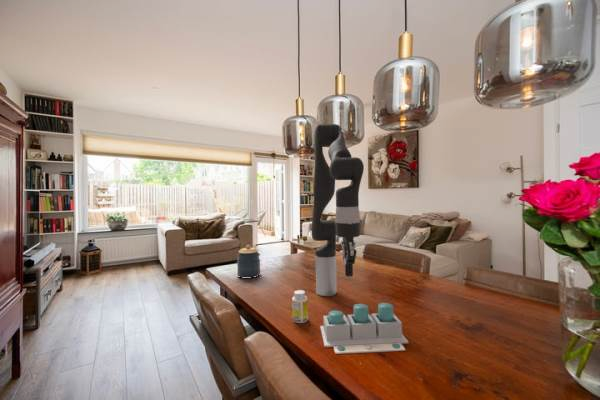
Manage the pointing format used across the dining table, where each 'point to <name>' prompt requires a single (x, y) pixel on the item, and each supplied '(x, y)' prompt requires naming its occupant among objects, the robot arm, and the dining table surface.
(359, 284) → the dining table surface
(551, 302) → the dining table surface
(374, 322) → the board
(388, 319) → the button
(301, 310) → the supplement bottle
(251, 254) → the canister
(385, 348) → the card
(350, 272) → the robot arm
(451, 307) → the dining table surface
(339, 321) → the button
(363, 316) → the button
